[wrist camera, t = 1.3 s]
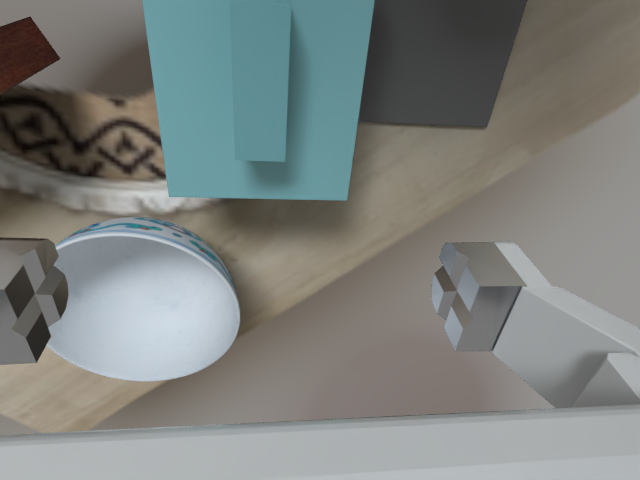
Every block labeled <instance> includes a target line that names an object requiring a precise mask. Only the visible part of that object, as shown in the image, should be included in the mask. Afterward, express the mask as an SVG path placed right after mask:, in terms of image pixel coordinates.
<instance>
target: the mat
mask: <svg viewBox="0 0 640 480" xmlns="http://www.w3.org/2000/svg"><path fill="white" fill-rule="evenodd" d="M526 2H527V0H375V1H374V9H373V16H372V23H371V30H370V38H369V45H368V52H367V59H366V67H365V74H364V81H363V88H362V96H361V103H360V110H359V117H358V121H365V122H387V123H409V124H430V125H452V126H474V127H487V125H488V122H489V119H490V116H491V112H492V109H493V106H494V103H495V100H496V97H497V94H498V90H499V87H500V84H501V81H502V78H503V75H504V72H505V68H506V65H507V62H508V59H509V56H510V53H511V49H512V46H513V43H514V40H515V37H516V34H517V31H518V27H519V24H520V21H521V18H522V15H523V12H524V9H525V5H526Z"/></svg>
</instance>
